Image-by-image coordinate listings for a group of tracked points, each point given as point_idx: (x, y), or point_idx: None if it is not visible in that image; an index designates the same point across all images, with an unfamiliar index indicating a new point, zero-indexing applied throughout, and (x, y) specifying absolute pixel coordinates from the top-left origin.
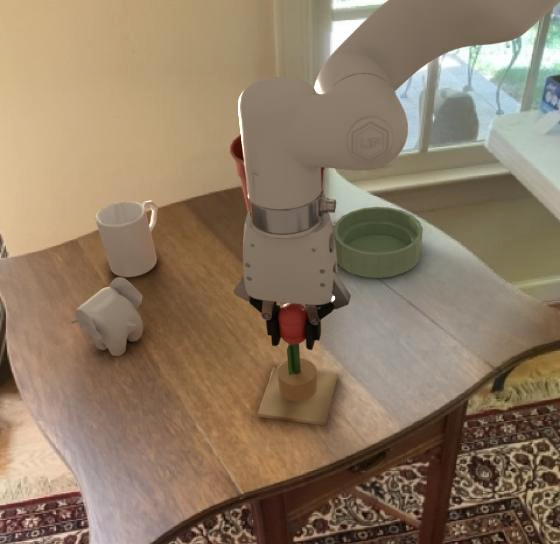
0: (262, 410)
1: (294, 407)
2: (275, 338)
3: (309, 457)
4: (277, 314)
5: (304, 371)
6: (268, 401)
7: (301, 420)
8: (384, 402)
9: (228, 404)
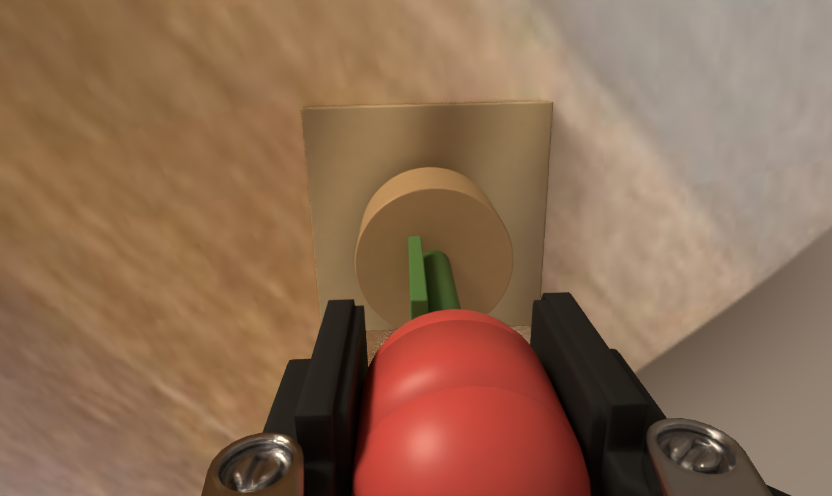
0: None
1: None
2: None
3: None
4: (342, 492)
5: (465, 262)
6: (339, 278)
7: None
8: (713, 192)
9: (212, 295)
